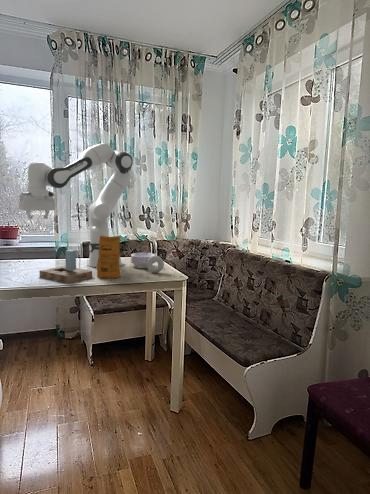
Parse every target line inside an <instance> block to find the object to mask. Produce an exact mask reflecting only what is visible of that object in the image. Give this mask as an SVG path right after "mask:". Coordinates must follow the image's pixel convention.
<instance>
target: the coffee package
mask: <svg viewBox="0 0 370 494" xmlns="http://www.w3.org/2000/svg"><path fill="white" fill-rule="evenodd" d="M120 244H121V236H120V235H116V236H109V237H106V236H100V240H99V258H98V262H97V267H96V277H97V278H98V279H103V278H106V279H117V278H120V276H121V267H120V266H119V257H120V258H121V253H120V246H121V245H120Z"/></svg>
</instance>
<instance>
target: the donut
mask: <svg viewBox="0 0 370 494" xmlns="http://www.w3.org/2000/svg"><path fill="white" fill-rule="evenodd" d="M153 262H155V263H157V265H156V266H154V263H153ZM164 268H165V262H164V259H163V258H162V257H160V256H159V255H156V256H152V257H150V258H149V259H148V261H147V268H146V269H147V270H148V271H149V272H151V273H154V274H156V273H160V272H161V271H162V270H163V269H164Z"/></svg>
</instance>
